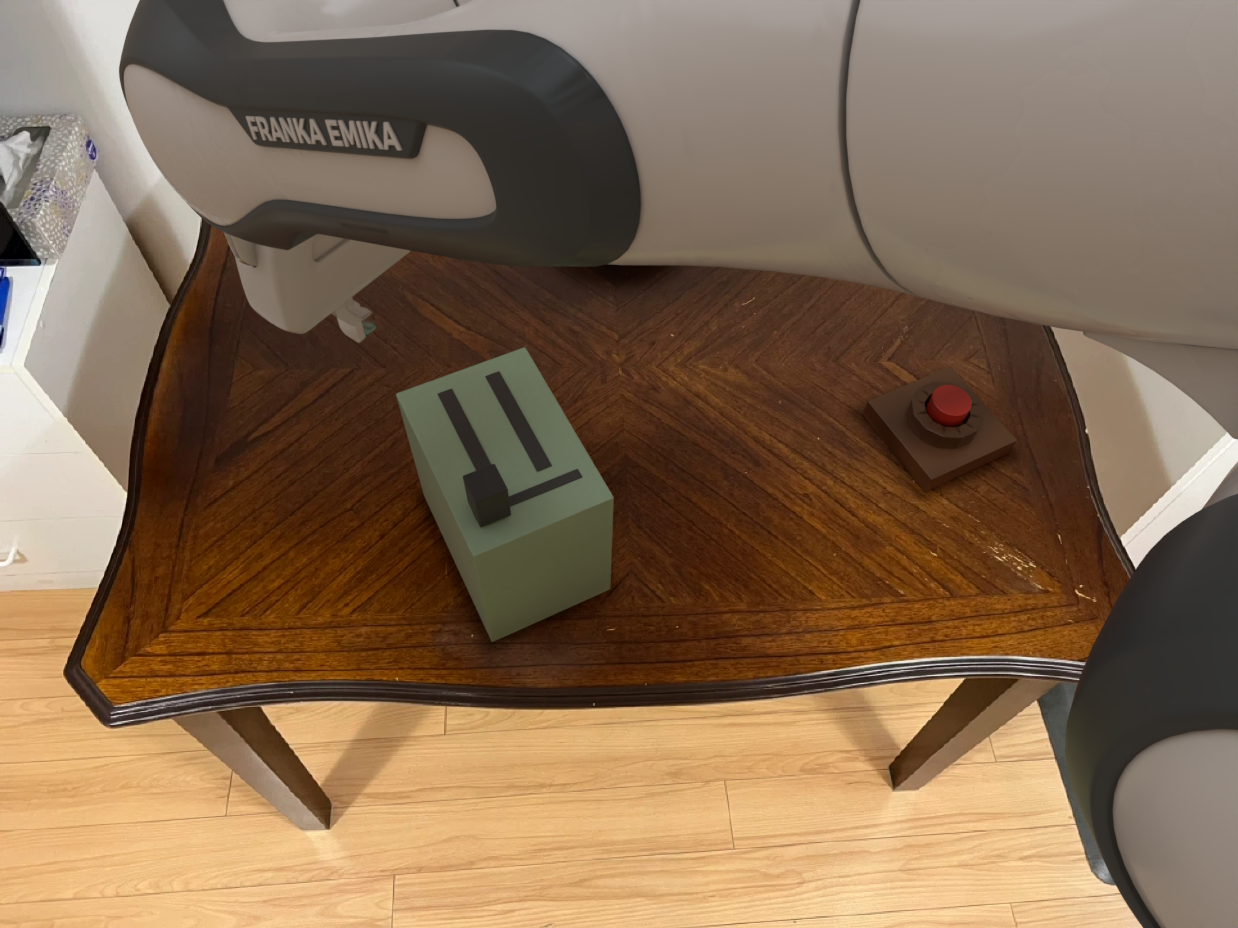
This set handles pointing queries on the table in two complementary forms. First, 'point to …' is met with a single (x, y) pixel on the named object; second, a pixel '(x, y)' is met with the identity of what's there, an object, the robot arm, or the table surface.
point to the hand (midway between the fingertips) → (412, 289)
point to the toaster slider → (487, 495)
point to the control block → (937, 431)
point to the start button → (949, 405)
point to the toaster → (512, 490)
